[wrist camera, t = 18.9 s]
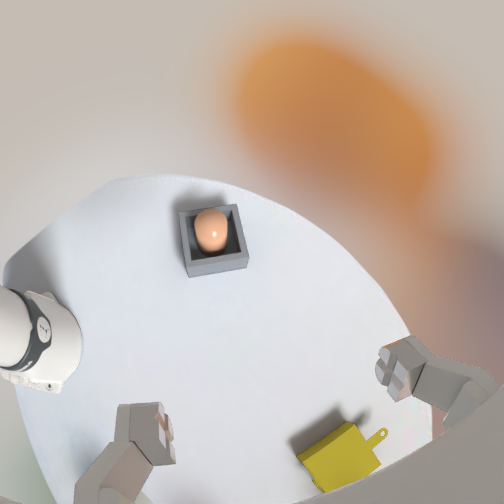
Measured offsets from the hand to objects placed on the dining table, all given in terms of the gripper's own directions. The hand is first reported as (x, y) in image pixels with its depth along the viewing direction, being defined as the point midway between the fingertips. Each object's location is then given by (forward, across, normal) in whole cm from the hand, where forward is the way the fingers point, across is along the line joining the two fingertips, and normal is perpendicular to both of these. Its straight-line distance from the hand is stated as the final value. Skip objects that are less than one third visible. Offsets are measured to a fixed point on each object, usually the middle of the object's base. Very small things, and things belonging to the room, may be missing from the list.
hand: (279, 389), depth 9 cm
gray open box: (+42, -1, +11) cm, 44 cm away
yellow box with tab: (+13, -15, +41) cm, 45 cm away
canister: (+42, -1, +10) cm, 43 cm away
